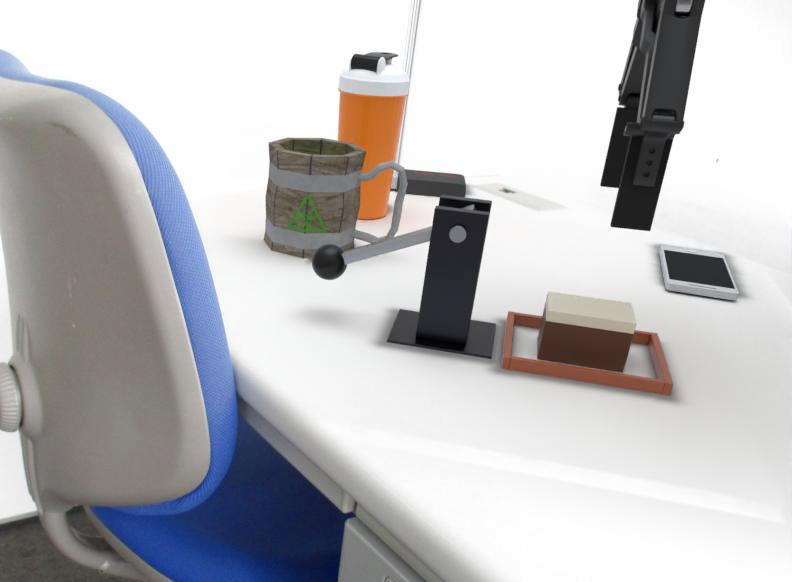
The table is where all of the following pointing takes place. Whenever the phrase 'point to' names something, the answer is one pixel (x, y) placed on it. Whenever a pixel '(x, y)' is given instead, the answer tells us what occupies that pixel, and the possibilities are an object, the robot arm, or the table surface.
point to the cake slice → (586, 331)
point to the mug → (319, 195)
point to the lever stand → (450, 284)
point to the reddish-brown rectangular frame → (587, 374)
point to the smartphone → (697, 273)
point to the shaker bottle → (373, 121)
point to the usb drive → (432, 183)
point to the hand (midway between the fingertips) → (622, 206)
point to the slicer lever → (364, 252)
